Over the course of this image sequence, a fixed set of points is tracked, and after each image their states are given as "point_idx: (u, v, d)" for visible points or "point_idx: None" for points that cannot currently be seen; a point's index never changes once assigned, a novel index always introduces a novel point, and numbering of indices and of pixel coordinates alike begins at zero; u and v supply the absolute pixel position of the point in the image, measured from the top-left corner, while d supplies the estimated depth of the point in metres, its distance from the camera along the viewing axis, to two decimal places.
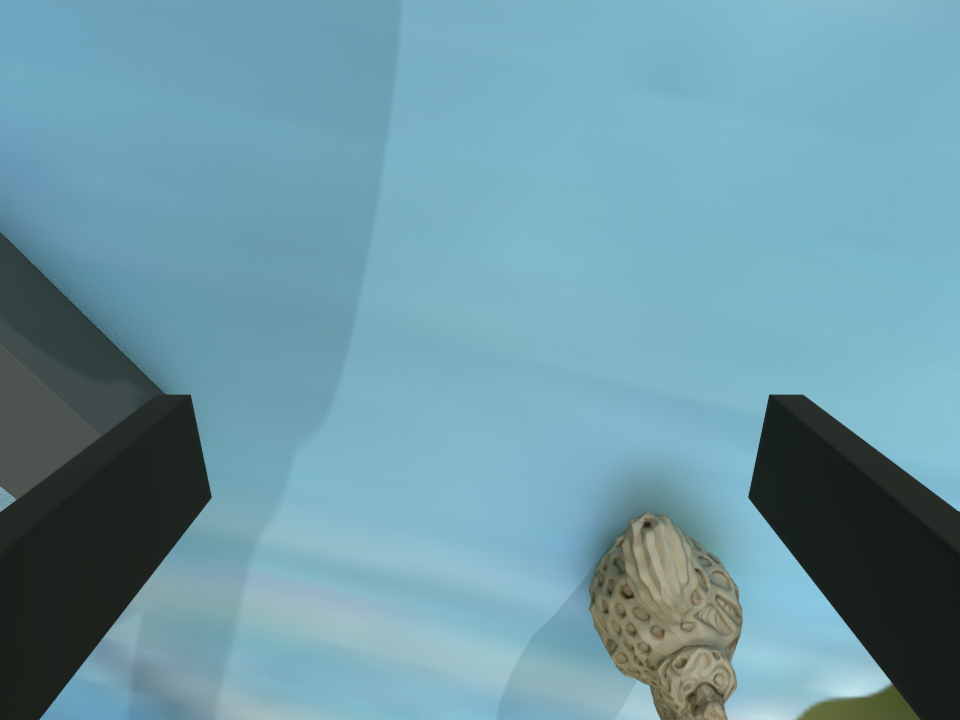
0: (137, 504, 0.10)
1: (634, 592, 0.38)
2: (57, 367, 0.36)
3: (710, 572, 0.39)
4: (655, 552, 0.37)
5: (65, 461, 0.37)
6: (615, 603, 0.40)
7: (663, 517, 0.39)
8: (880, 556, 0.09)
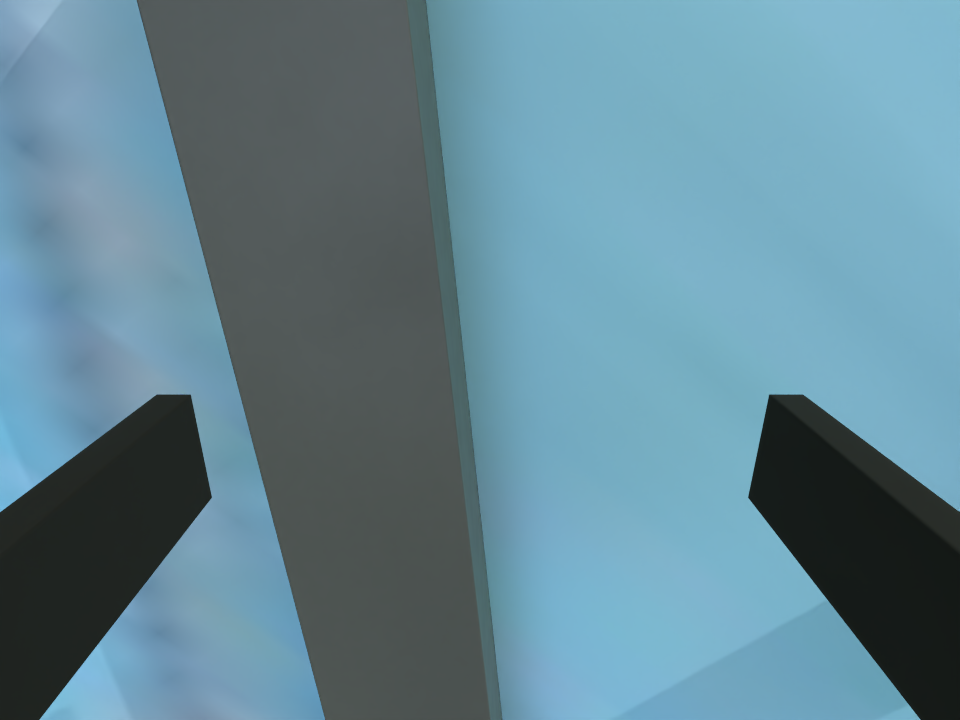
0: (137, 504, 0.10)
1: None
2: None
3: None
4: None
5: None
6: None
7: None
8: (880, 556, 0.09)
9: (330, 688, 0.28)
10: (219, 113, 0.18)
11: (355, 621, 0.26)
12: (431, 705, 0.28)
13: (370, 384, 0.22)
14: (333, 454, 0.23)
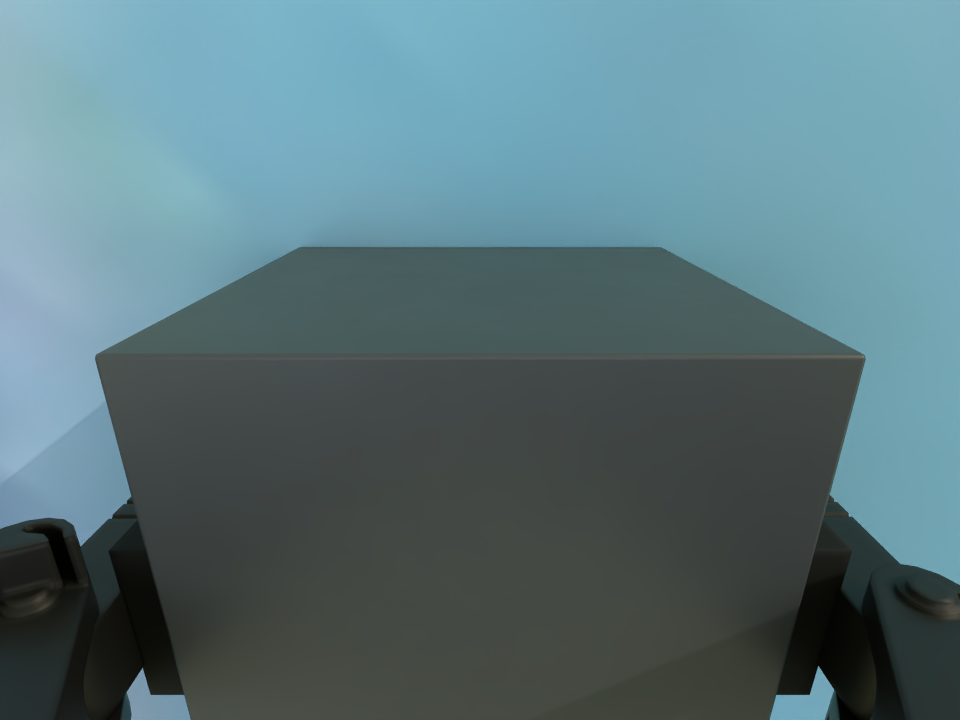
0: None
1: None
2: None
3: None
4: None
5: None
6: None
7: None
8: None
9: None
10: None
11: None
12: None
13: None
14: None
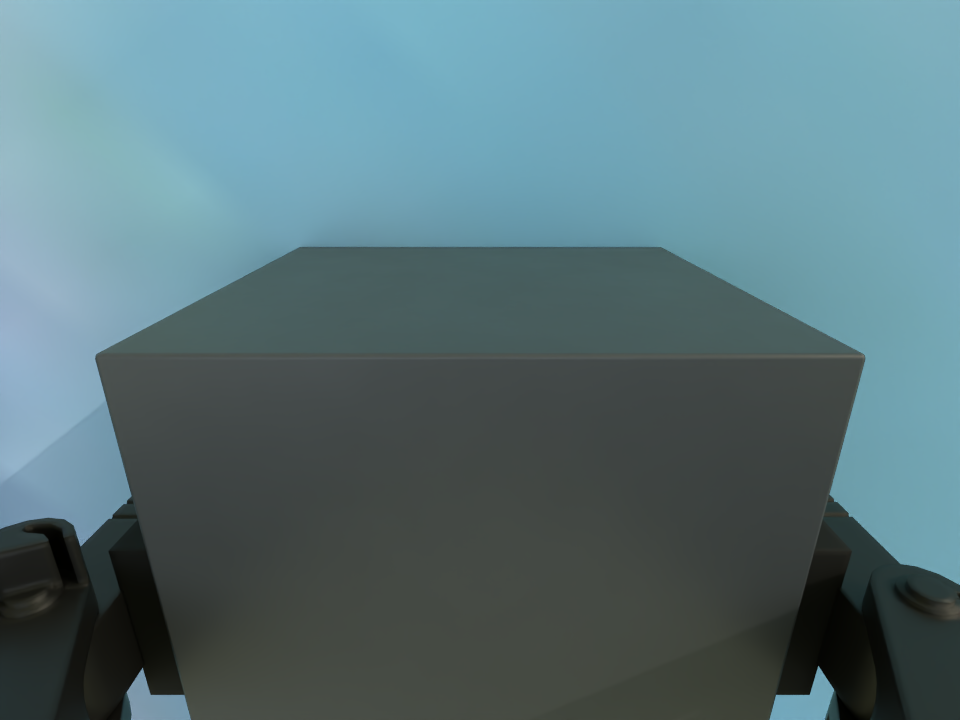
0: None
1: None
2: None
3: None
4: None
5: None
6: None
7: None
8: None
9: None
10: None
11: None
12: None
13: None
14: None
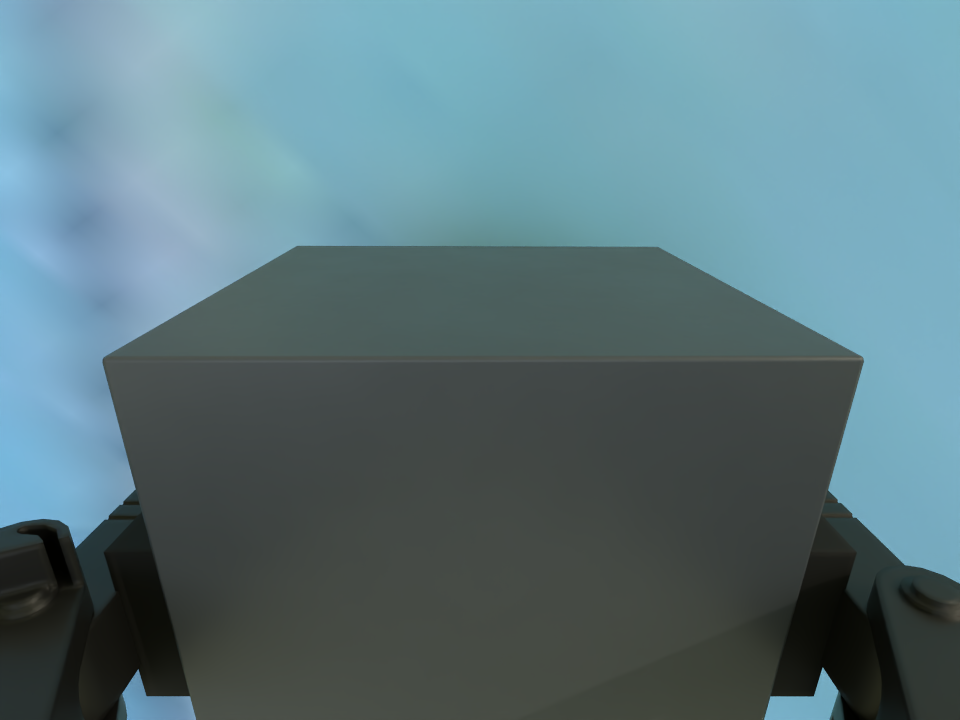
0: None
1: None
2: None
3: None
4: None
5: None
6: None
7: None
8: None
9: None
10: None
11: None
12: None
13: None
14: None
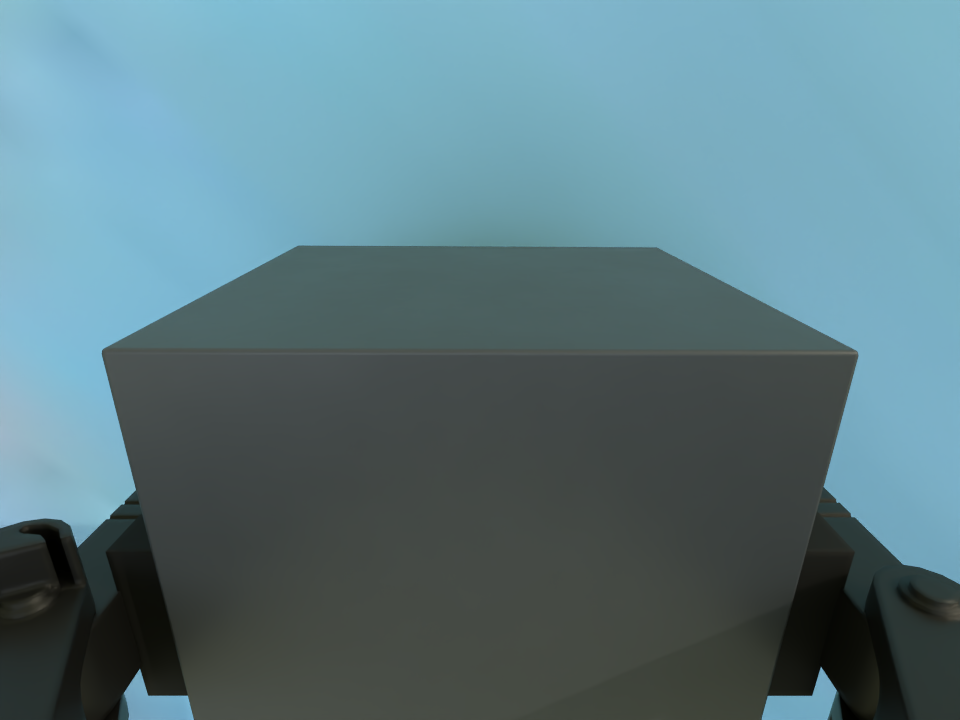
0: None
1: None
2: None
3: None
4: None
5: None
6: None
7: None
8: None
9: None
10: None
11: None
12: None
13: None
14: None
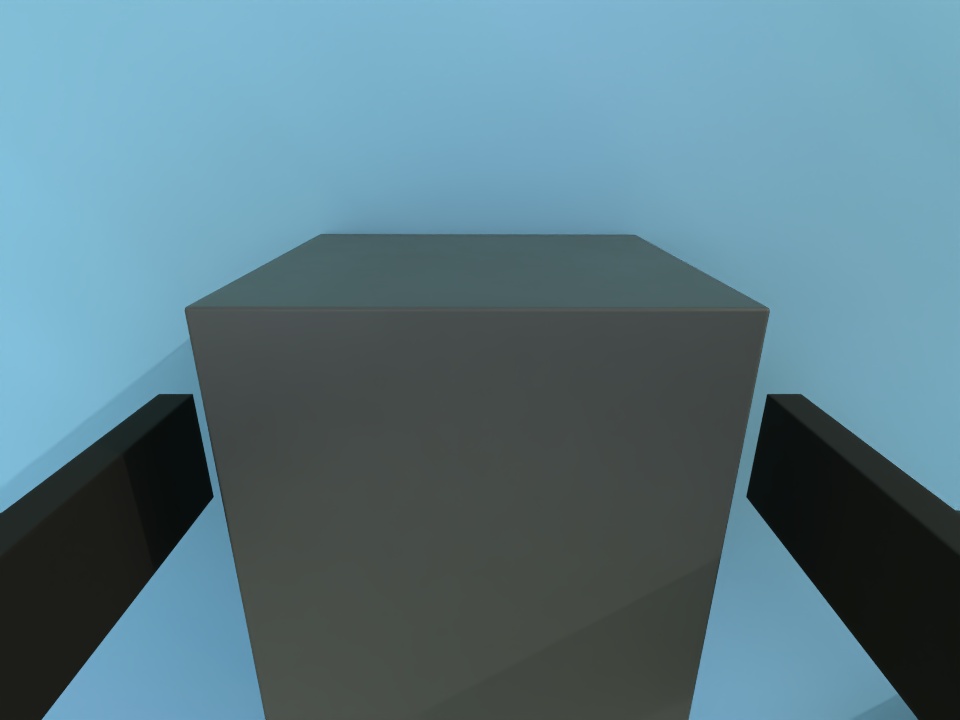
0: (139, 503, 0.10)
1: None
2: None
3: None
4: None
5: None
6: None
7: None
8: (877, 555, 0.09)
9: None
10: None
11: None
12: None
13: None
14: None
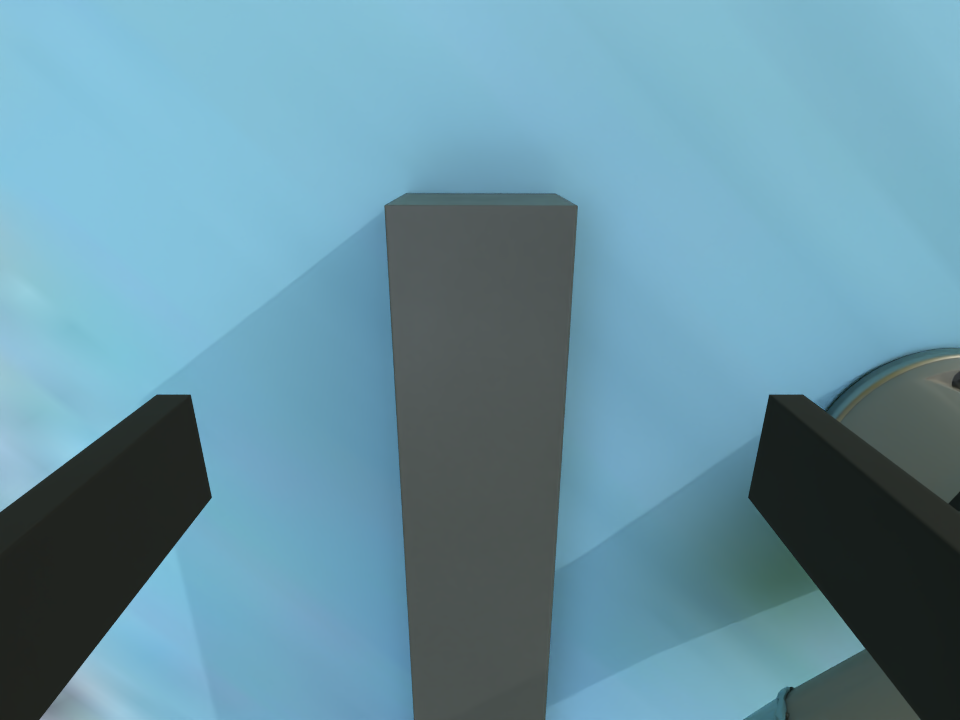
0: (137, 504, 0.10)
1: None
2: None
3: None
4: None
5: None
6: None
7: None
8: (880, 556, 0.09)
9: None
10: (432, 428, 0.28)
11: None
12: None
13: (498, 584, 0.32)
14: (463, 624, 0.33)
